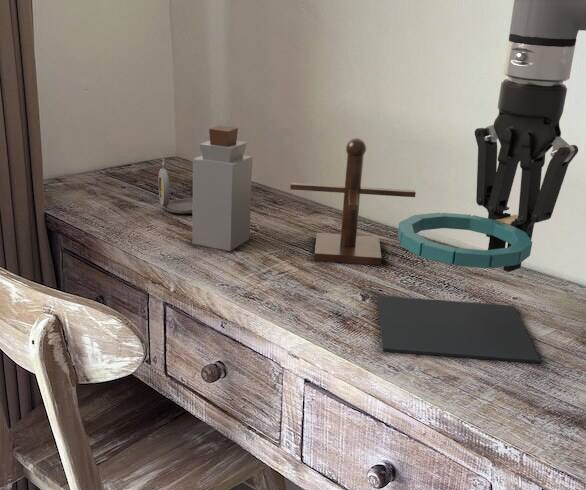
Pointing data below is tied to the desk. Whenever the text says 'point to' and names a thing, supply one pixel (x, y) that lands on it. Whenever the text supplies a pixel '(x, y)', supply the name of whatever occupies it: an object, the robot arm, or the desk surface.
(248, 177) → the perfume bottle
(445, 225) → the ring
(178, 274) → the desk surface
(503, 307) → the mat
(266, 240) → the desk surface
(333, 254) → the stand
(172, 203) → the pocket watch
